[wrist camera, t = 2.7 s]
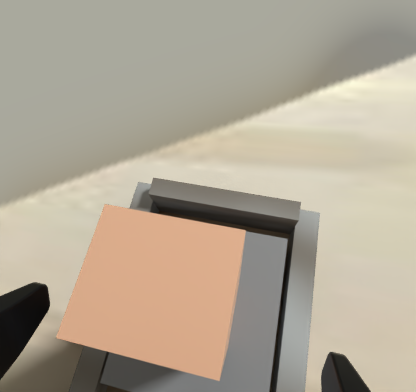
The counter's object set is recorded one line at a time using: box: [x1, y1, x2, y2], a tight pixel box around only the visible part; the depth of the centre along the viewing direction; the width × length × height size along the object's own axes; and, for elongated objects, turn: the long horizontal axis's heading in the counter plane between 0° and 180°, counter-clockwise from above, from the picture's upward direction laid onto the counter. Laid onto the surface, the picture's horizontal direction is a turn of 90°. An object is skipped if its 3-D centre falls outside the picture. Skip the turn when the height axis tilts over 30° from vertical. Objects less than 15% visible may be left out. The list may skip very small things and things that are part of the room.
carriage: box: [56, 204, 288, 392], centre depth 11 cm, size 8×7×11 cm
